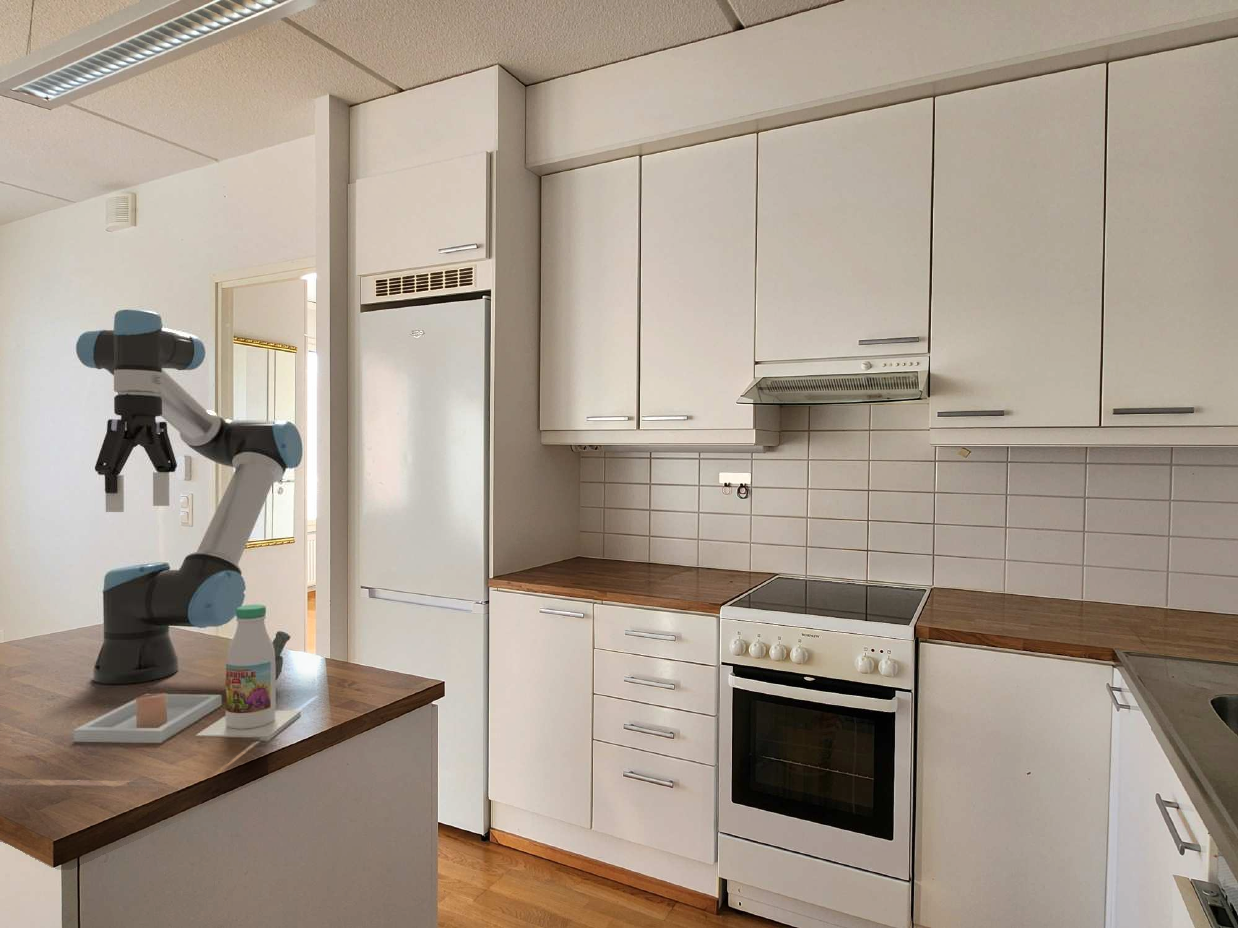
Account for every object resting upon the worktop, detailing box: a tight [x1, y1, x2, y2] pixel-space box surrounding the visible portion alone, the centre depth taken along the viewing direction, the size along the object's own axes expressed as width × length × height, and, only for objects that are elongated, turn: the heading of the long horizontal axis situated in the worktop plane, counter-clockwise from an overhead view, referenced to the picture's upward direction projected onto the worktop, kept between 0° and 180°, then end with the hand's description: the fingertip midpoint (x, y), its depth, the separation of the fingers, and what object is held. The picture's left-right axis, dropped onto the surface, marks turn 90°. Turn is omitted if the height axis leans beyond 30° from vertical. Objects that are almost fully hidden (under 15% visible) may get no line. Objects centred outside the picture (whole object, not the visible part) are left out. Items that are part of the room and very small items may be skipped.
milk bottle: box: [225, 604, 277, 729], centre depth 129 cm, size 8×8×20 cm
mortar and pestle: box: [272, 630, 291, 681], centre depth 146 cm, size 11×9×12 cm
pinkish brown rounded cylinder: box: [135, 692, 168, 728], centre depth 127 cm, size 4×4×5 cm
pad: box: [195, 710, 302, 742], centre depth 129 cm, size 12×12×1 cm
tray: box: [73, 693, 223, 744], centre depth 129 cm, size 18×14×2 cm
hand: (139, 508), depth 140 cm, fingers open, 13 cm apart
